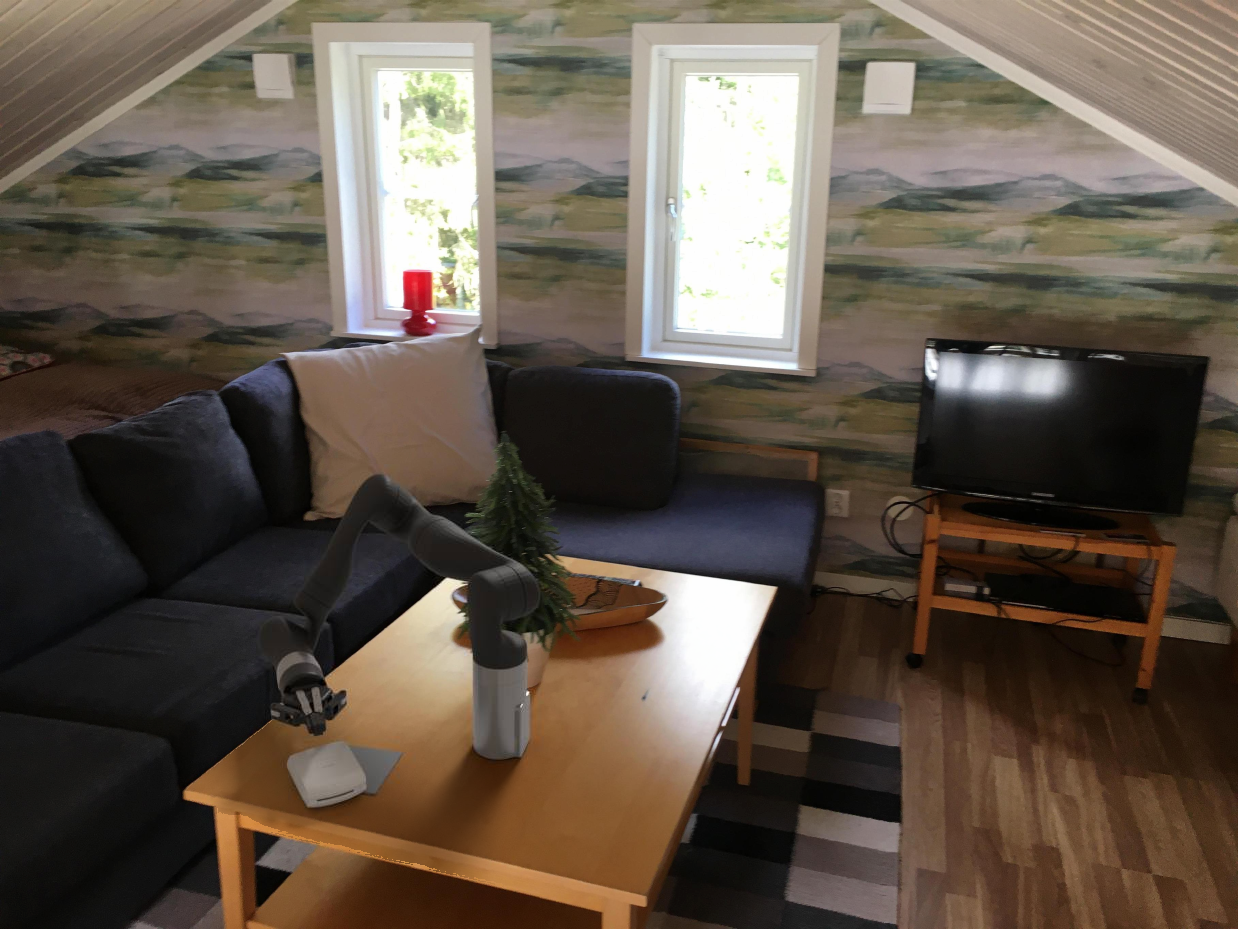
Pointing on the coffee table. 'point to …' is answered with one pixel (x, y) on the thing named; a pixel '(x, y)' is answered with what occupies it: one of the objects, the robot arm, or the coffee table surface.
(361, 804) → the coffee table surface
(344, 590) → the robot arm
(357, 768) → the photo printer
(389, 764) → the mat
